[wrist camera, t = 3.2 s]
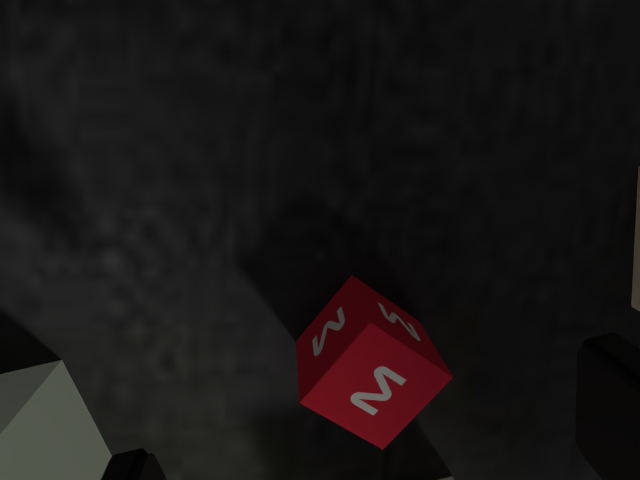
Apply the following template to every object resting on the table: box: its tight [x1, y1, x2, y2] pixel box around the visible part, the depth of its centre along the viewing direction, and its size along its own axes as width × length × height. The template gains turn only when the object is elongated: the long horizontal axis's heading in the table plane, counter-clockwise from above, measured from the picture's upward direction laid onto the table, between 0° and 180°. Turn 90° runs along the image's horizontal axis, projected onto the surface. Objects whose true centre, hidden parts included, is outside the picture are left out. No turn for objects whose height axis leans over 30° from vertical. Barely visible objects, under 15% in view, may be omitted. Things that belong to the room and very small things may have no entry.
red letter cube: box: [296, 275, 453, 449], centre depth 13 cm, size 3×3×3 cm
